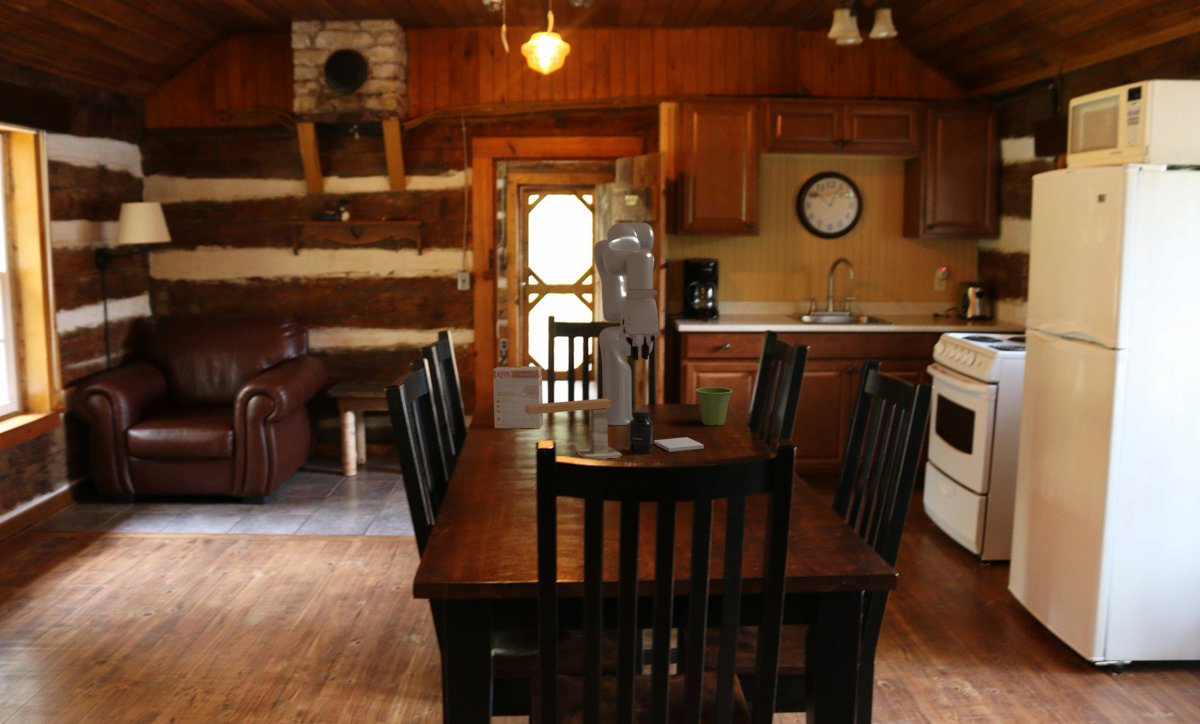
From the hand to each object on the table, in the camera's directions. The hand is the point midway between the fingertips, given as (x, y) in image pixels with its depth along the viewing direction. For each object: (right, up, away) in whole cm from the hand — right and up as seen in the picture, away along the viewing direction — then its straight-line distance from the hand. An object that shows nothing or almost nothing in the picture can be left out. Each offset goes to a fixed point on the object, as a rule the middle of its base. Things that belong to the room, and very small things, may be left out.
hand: (639, 358), depth 283 cm
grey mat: (+12, -26, +10) cm, 30 cm away
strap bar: (-20, -14, -6) cm, 25 cm away
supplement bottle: (0, -27, +4) cm, 27 cm away
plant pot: (+26, -21, +41) cm, 53 cm away
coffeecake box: (-38, -22, +40) cm, 59 cm away
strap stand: (-12, -28, -1) cm, 30 cm away
